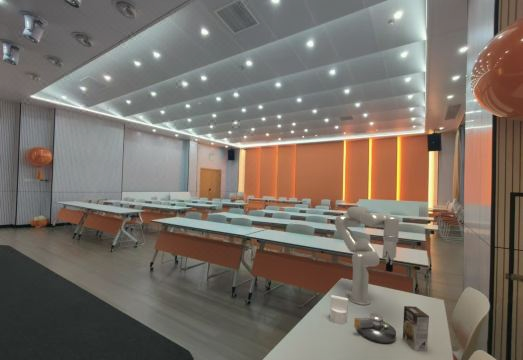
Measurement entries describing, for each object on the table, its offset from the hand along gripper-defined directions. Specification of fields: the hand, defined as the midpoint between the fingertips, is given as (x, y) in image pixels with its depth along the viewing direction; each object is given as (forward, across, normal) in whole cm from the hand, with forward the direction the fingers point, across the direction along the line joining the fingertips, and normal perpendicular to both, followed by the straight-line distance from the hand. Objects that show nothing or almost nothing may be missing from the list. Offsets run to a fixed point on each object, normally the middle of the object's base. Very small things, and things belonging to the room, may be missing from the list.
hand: (389, 271), depth 143 cm
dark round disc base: (+27, +19, 0) cm, 33 cm away
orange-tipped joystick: (+24, +23, -3) cm, 33 cm away
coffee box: (+27, +15, +16) cm, 35 cm away
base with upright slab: (+27, +21, -19) cm, 39 cm away
